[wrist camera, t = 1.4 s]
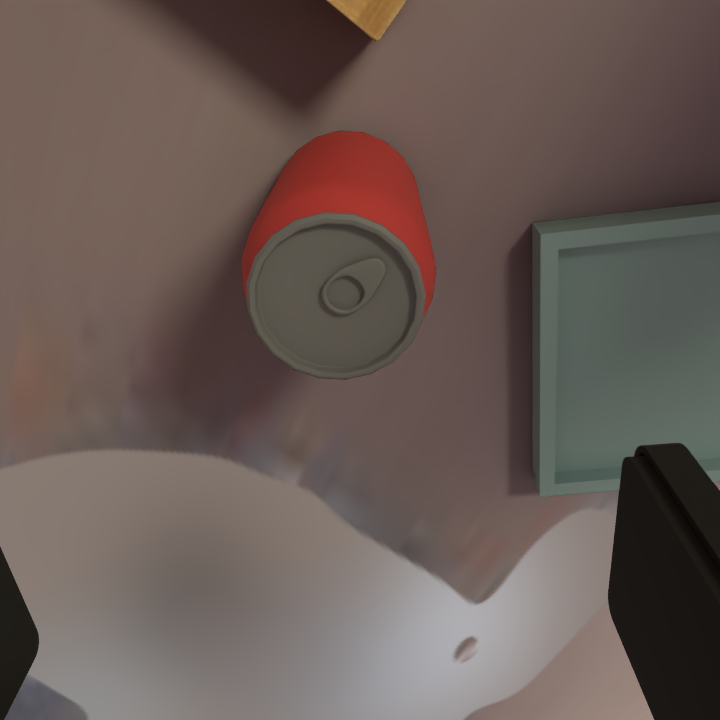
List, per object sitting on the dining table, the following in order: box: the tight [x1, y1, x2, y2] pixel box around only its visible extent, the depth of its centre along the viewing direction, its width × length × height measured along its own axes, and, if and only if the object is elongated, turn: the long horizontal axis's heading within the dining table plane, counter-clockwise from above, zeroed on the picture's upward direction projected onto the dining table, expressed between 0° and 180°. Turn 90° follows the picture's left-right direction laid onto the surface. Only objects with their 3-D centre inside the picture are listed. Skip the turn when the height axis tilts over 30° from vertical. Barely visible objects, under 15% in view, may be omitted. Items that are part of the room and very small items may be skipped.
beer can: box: [242, 131, 436, 380], centre depth 26 cm, size 7×7×12 cm
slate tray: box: [532, 202, 720, 497], centre depth 34 cm, size 15×15×2 cm
